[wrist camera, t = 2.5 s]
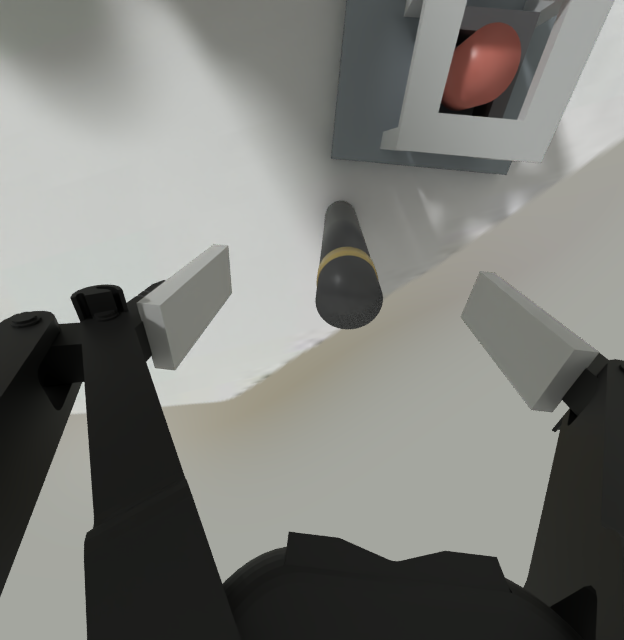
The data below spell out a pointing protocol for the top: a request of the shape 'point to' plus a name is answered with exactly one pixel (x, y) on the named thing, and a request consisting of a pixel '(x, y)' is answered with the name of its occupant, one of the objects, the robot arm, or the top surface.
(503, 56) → the button
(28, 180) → the top surface
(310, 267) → the top surface
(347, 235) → the stylus
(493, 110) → the grey framed button station
